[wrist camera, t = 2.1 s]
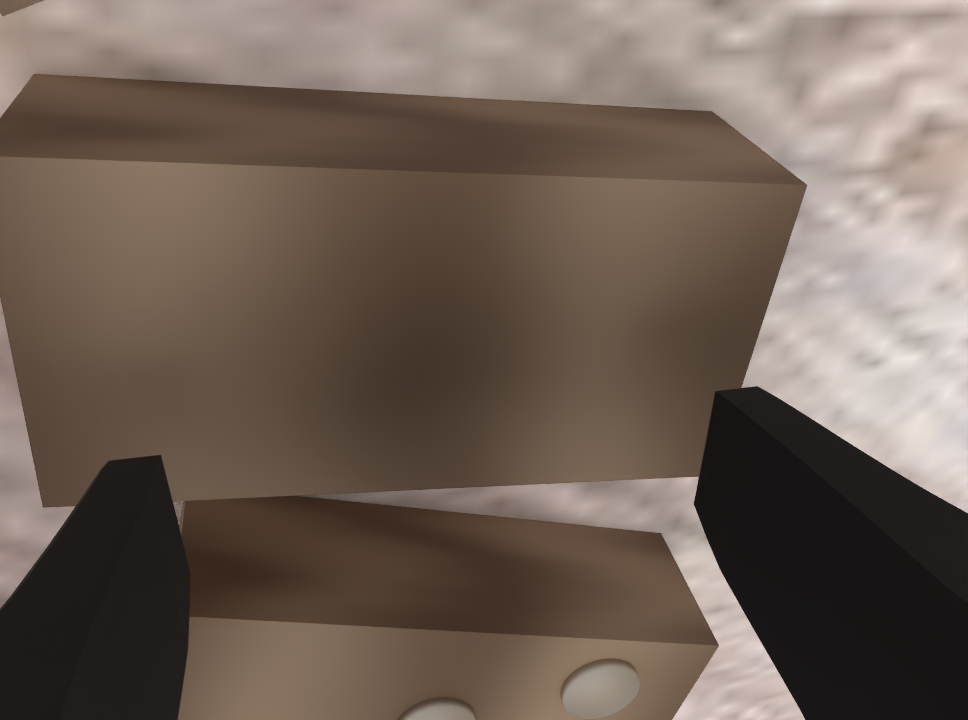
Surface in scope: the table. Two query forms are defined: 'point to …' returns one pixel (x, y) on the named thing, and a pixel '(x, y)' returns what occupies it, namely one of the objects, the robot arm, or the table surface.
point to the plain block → (375, 285)
